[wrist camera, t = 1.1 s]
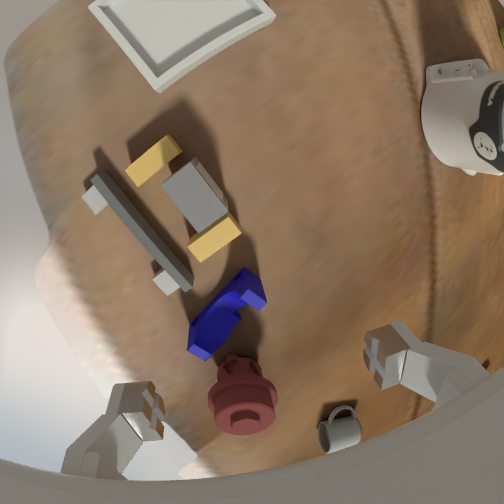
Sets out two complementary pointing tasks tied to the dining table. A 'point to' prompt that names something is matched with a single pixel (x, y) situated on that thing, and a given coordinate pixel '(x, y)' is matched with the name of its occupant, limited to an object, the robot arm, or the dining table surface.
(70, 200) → the dining table surface
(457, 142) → the robot arm
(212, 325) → the cable clip
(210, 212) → the grey rectangular box
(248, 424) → the mechanical component
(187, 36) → the parts tray
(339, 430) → the ceramic mug
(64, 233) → the dining table surface
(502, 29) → the plant pot
